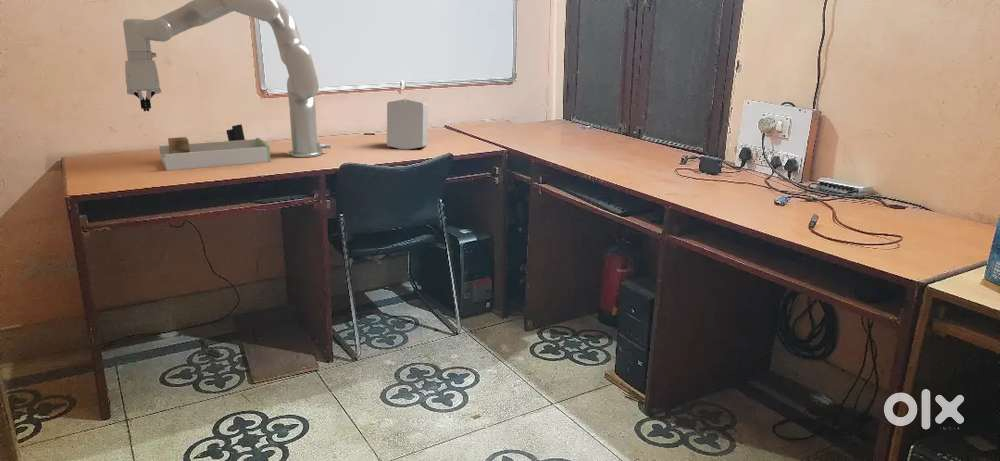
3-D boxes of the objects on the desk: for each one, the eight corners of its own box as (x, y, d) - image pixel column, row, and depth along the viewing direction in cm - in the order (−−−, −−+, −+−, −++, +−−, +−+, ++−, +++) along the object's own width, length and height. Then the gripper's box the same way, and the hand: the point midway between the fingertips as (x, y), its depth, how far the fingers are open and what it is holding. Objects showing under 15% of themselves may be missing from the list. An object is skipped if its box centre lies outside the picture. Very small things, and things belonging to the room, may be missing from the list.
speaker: (251, 150, 283) (246, 123, 280) (238, 152, 279) (232, 126, 276) (240, 149, 288) (235, 123, 285) (227, 152, 284) (222, 125, 281)
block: (187, 153, 264) (185, 137, 262) (190, 156, 259) (188, 139, 257) (170, 154, 261) (168, 138, 259) (171, 157, 256) (169, 140, 254)
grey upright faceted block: (429, 148, 305) (430, 100, 302) (422, 150, 290) (423, 99, 287) (395, 147, 306) (395, 99, 303) (386, 148, 291) (387, 98, 288)
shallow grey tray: (259, 153, 279) (258, 137, 277) (270, 161, 264) (269, 145, 262) (161, 160, 262) (159, 144, 260) (166, 170, 247) (164, 153, 245)
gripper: (162, 55, 252) (168, 108, 257) (114, 56, 245) (121, 110, 250) (164, 57, 246) (171, 111, 251) (115, 57, 238) (123, 113, 244)
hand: (146, 110), depth 250 cm, fingers closed
